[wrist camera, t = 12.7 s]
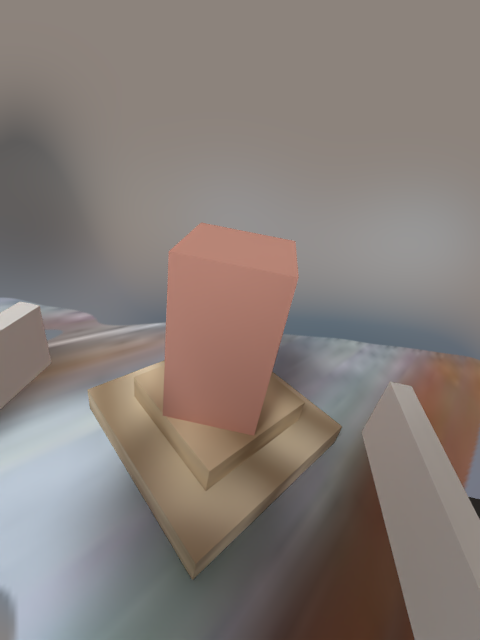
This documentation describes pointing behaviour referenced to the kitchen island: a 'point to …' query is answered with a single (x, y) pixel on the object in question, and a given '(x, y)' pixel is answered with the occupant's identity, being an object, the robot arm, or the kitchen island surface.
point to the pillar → (225, 324)
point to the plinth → (180, 490)
